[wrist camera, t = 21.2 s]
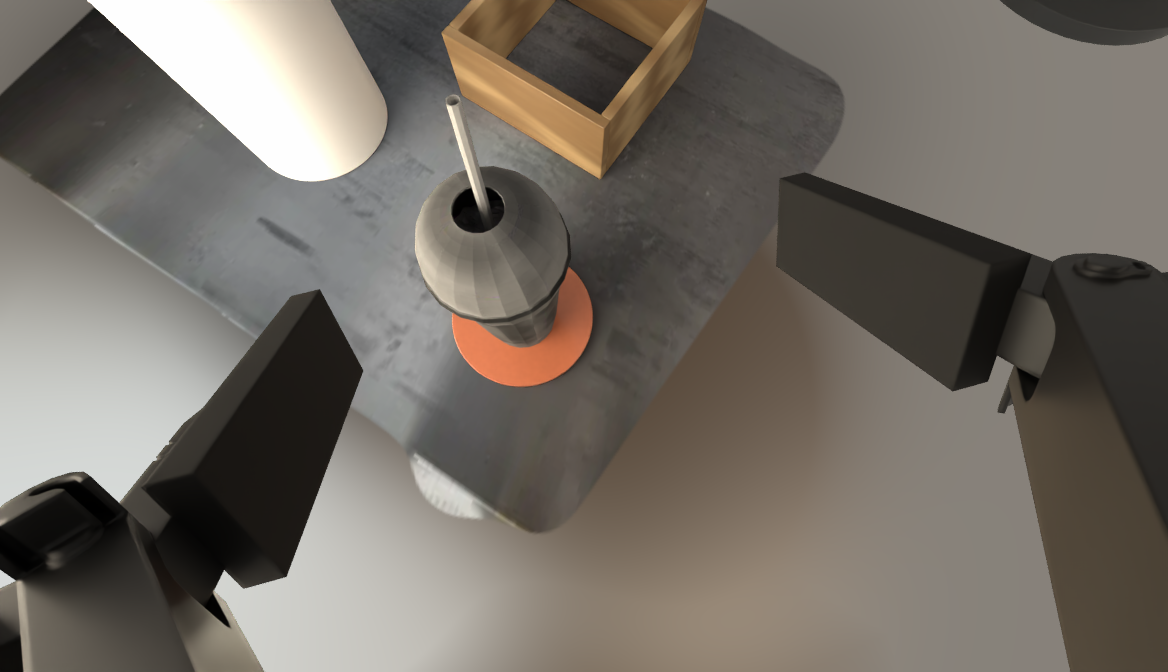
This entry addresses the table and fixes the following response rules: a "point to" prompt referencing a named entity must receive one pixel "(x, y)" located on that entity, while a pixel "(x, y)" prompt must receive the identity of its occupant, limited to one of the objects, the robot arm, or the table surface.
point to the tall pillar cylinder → (267, 76)
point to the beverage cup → (493, 246)
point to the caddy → (591, 141)
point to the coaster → (538, 359)
